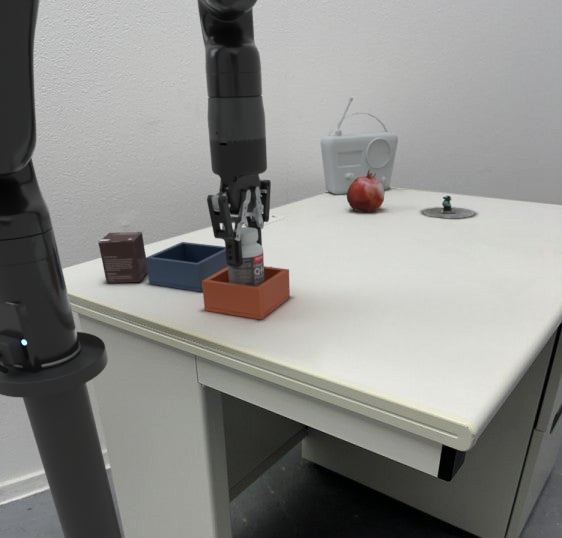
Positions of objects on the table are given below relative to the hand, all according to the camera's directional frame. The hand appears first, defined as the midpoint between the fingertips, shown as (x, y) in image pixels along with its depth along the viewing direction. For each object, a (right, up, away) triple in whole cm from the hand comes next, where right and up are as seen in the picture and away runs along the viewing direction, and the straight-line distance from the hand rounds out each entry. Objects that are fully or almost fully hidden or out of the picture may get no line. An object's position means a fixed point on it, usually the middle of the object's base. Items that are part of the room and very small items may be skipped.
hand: (245, 259), depth 80 cm
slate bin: (-10, 0, +15) cm, 18 cm away
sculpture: (+46, +23, +53) cm, 74 cm away
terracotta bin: (0, -6, +3) cm, 7 cm away
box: (-22, 0, +16) cm, 27 cm away
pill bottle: (0, -5, +3) cm, 6 cm away
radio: (+28, +37, +81) cm, 94 cm away
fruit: (+27, +25, +58) cm, 68 cm away
